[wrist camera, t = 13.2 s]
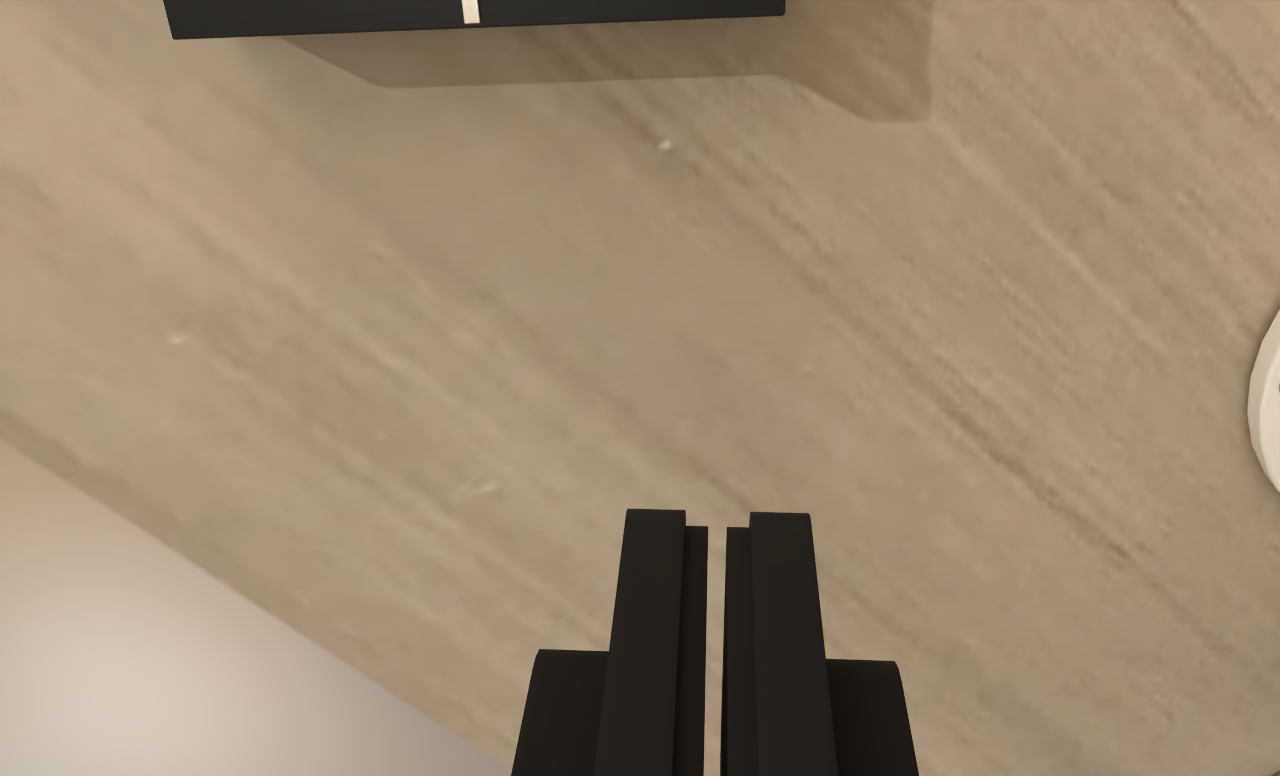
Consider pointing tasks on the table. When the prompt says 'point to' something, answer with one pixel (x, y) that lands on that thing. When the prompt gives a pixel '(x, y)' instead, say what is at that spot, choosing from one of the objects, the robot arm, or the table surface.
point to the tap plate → (431, 14)
